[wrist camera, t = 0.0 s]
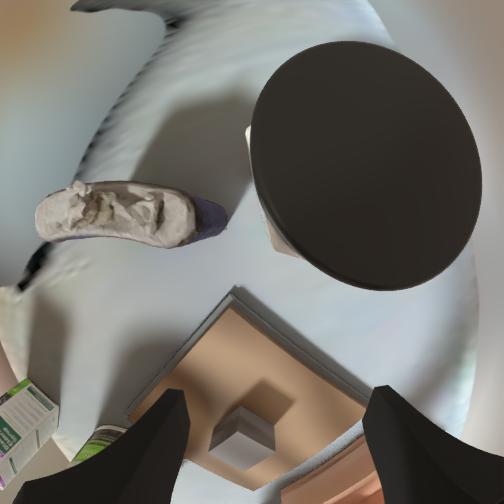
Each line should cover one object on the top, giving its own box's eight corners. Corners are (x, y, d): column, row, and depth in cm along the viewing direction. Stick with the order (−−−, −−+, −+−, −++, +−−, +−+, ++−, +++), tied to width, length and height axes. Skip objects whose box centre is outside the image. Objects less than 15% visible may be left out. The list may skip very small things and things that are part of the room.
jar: (382, 164, 18) (492, 111, 6) (355, 268, 19) (462, 319, 7) (269, 124, 18) (278, 7, 6) (235, 231, 19) (193, 239, 7)
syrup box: (60, 406, 21) (-10, 474, 7) (58, 430, 22) (1, 492, 7) (27, 376, 21) (-47, 429, 7) (27, 403, 22) (-35, 454, 7)
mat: (254, 485, 21) (254, 489, 21) (126, 409, 21) (124, 412, 20) (371, 400, 20) (374, 404, 19) (230, 292, 19) (229, 294, 19)
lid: (253, 485, 21) (252, 512, 17) (130, 413, 20) (113, 438, 16) (366, 406, 19) (382, 433, 15) (230, 304, 19) (222, 323, 15)
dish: (344, 508, 22) (350, 533, 17) (280, 489, 21) (282, 522, 16) (417, 459, 21) (432, 483, 16) (365, 432, 20) (381, 466, 15)
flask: (111, 235, 19) (7, 244, 8) (113, 198, 19) (10, 180, 8) (227, 240, 19) (189, 254, 8) (229, 197, 19) (193, 160, 8)
